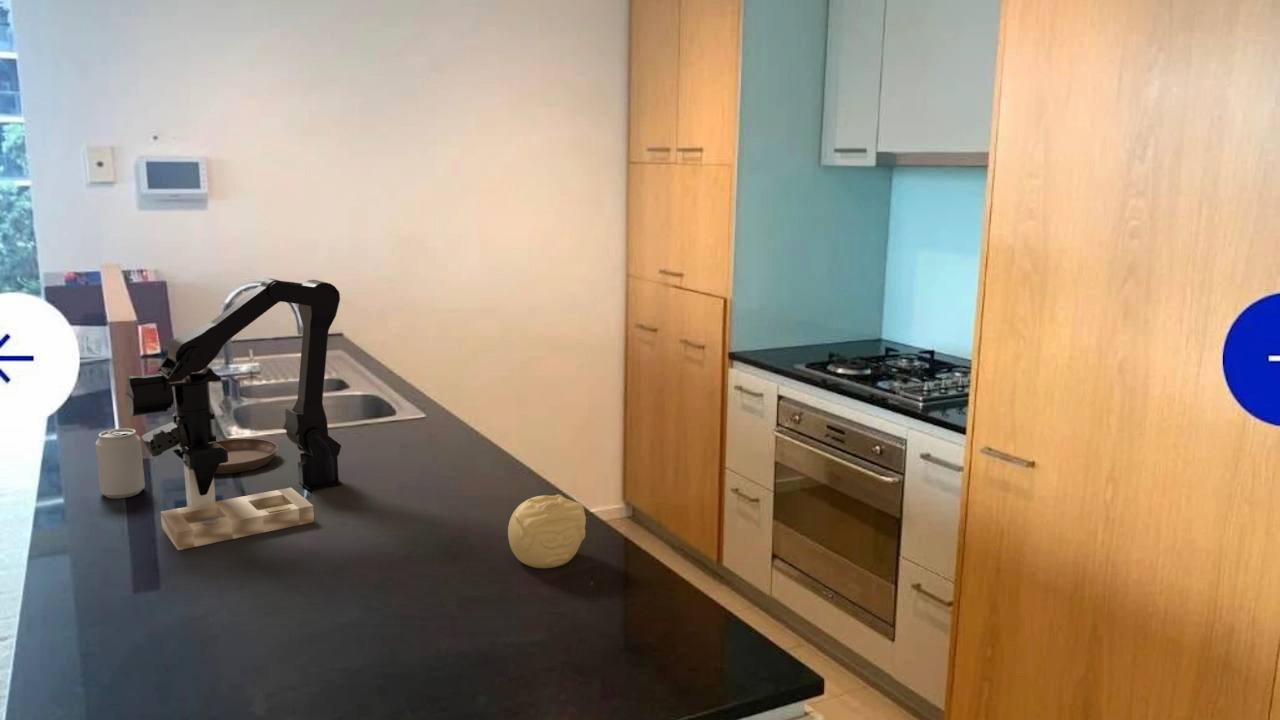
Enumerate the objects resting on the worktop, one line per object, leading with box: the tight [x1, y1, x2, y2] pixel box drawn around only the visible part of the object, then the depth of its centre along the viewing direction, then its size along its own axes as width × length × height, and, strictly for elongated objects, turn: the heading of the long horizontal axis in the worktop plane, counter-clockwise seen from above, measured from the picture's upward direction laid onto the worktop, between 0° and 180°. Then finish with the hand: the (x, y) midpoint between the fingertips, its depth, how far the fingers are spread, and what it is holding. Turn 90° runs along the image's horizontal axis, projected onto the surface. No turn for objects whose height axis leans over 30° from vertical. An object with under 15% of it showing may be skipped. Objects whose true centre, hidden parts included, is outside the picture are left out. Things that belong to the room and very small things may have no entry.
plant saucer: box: [209, 438, 279, 474], centre depth 205 cm, size 18×18×3 cm
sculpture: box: [507, 493, 587, 569], centre depth 155 cm, size 11×12×11 cm
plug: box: [182, 454, 216, 507], centre depth 178 cm, size 4×4×10 cm
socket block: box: [160, 487, 315, 551], centre depth 170 cm, size 22×12×3 cm, turn 127°
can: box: [94, 428, 146, 499], centre depth 185 cm, size 8×8×12 cm
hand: (200, 491), depth 178 cm, fingers closed on plug, 4 cm apart
